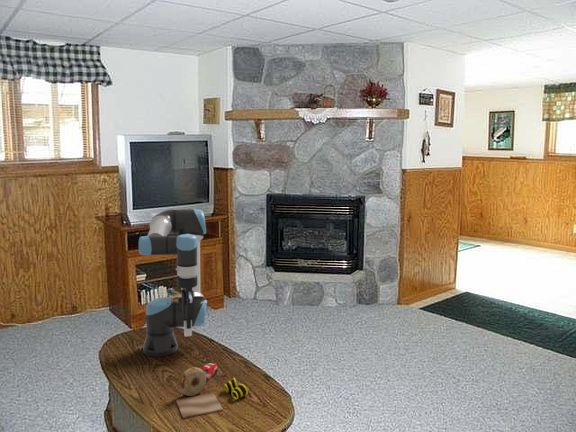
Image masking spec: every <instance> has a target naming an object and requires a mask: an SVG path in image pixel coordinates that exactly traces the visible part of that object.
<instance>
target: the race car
mask: <svg viewBox="0 0 576 432" xmlns="http://www.w3.org/2000/svg"><path fill="white" fill-rule="evenodd" d="M201 369H202V370H203V371H204V373H205V375H206V384H207V383H208V382H209V381H210V380H211V379H212V377H213V376H215V374H217V372H218V369H219V368H218V364H217V363H206V364H205V365H203V366H202V367H201Z"/></svg>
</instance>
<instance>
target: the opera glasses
mask: <svg viewBox="0 0 576 432" xmlns="http://www.w3.org/2000/svg"><path fill="white" fill-rule="evenodd" d="M223 386H224V390H225V393H227V394H228V393H231V397H232V398H233V399H234V400H238V399H240V398H242V397H246V396H247V395H248V393H249V390H248V388H247V387H246V386H245V385H244V384H243V383H237V381H236V378H235V377H233V378H232V379H230V380H229V381H228V382H226V383H224V384H223Z"/></svg>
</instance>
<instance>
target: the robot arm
mask: <svg viewBox="0 0 576 432" xmlns="http://www.w3.org/2000/svg"><path fill="white" fill-rule="evenodd" d="M206 234H207V227H206V218H205V213H204V210H202V209H195V208H188V209H187V208H185V209H183V208H182V209H172V208H170V209H167V210H163V211H160V212H159V213H157V214H155V215H154V216H153V217H152V218H151V220H150V222H149V231H148V233H147V235H144V236H142V235H141V236H140V237H139V239H138V253H139V255H140V256H148V257H151V256H176V268H175V271H176V275H177V277H176V286H177V287H178V288H180V289H181V290H180V294H179V295H178V296H177V301H175V300H174V299H173V298H172V297H168V296H165V297H163V296H162V297H158V298H154V299H153V300H150V301H149V302H148V303H147V304H146V306H145V308H146V310H145V316H146V317H145V319H146V336H145V339H144V342H143V344H142V345H143V346H142V351H143V354H144V355H146V356H148V357H155V358H156V357H159V358H161V357H166V356H170V355H172V354H174V353H175V352H177V351H178V341H177V339H176V336H175V333H174V328H175V329H176V328H183V336H184V337H185V338H186V337H191V336H193V328H195V327H203V326H204V325H205V321H206V312H207V305H208V300H207V299H205V296H204V295H203V294H202V293H201V241H202V240H203V239H204V235H206Z"/></svg>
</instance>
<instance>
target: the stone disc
mask: <svg viewBox="0 0 576 432" xmlns="http://www.w3.org/2000/svg"><path fill="white" fill-rule="evenodd" d="M193 379H194V381H193V382H192V380H193ZM206 385H207V383H206V375H205V373H204V371H203V370H202V368H200V367H196V366H194V367H189V368H188V369H186V370H184V371H183V372H182V373H181V375H180V378H179V386H178V387H179V390H180V392H181V393H182V394H183V395H185V396H187V397H194V396H197V395H198V394H200V393H201V392H203V391H204V389H205V388H206Z"/></svg>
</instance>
